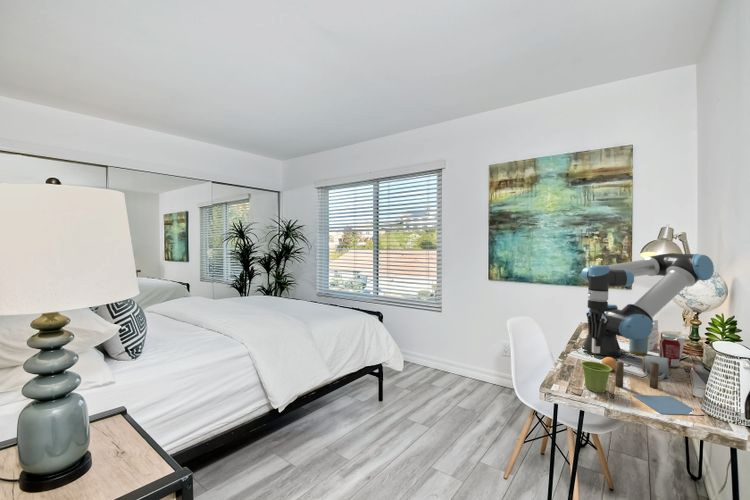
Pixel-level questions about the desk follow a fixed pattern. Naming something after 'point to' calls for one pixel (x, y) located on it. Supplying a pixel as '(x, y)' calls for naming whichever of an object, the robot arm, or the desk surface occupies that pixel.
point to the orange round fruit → (609, 362)
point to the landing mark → (665, 404)
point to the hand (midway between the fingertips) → (595, 352)
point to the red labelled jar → (670, 350)
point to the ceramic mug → (662, 366)
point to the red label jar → (680, 340)
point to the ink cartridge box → (653, 337)
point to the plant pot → (596, 375)
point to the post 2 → (654, 375)
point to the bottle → (639, 346)
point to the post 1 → (619, 374)
